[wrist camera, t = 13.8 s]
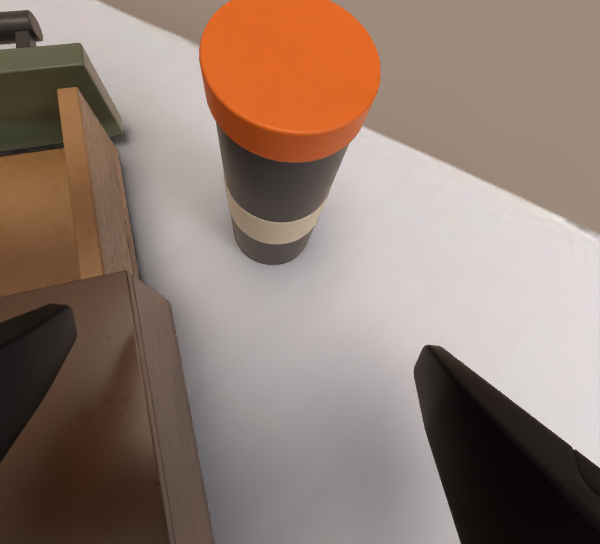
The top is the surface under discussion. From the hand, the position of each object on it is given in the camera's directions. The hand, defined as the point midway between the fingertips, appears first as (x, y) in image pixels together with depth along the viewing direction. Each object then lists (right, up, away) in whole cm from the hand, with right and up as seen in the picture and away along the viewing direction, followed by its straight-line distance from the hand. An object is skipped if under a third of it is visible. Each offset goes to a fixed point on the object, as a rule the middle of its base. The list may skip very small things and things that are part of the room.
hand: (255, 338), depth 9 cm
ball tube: (0, +4, +10) cm, 11 cm away
